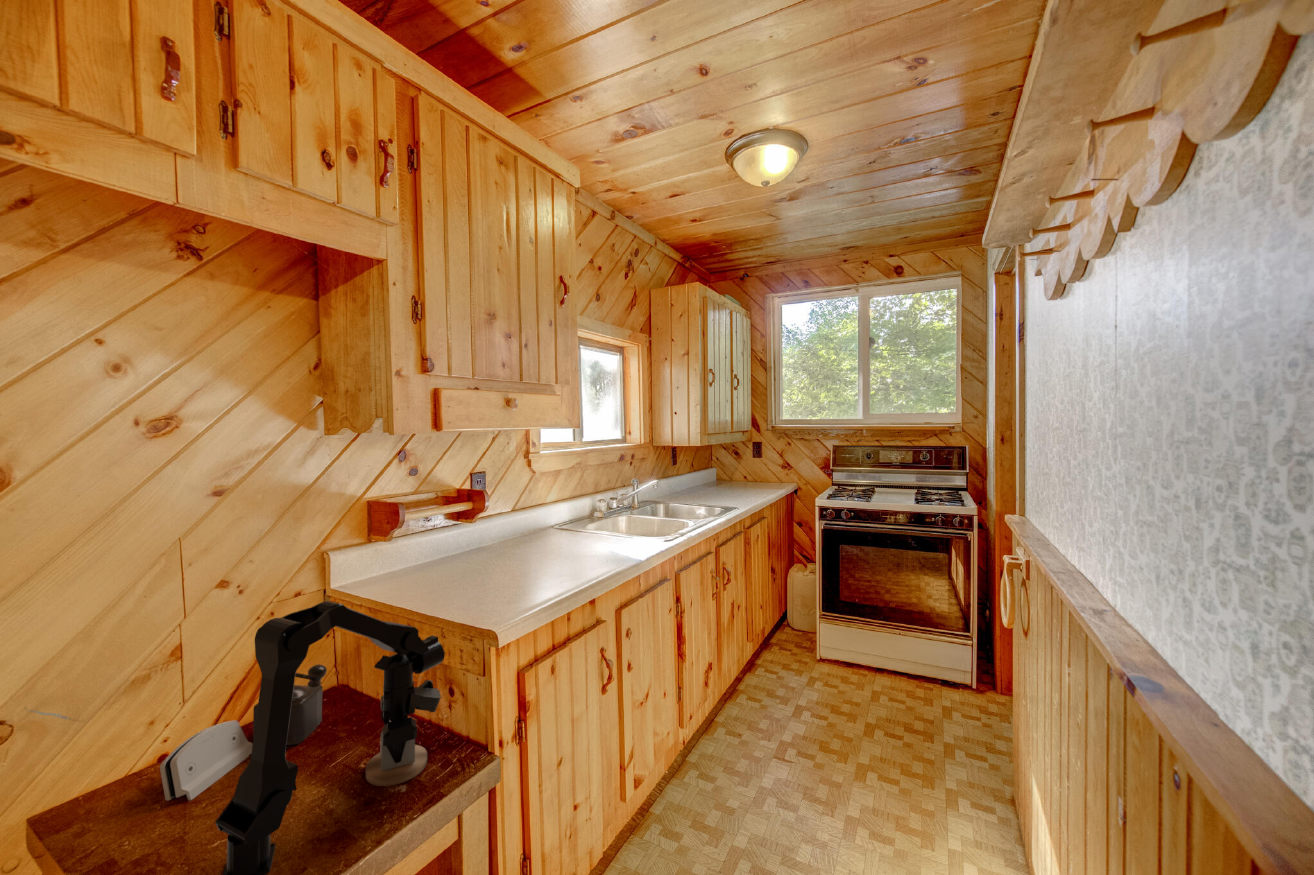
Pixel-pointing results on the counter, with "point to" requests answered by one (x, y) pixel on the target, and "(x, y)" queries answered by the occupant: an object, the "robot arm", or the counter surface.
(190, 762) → the grey napkin holder
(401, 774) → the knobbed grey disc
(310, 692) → the dark grey coffee grinder
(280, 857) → the counter surface
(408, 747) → the grey block
